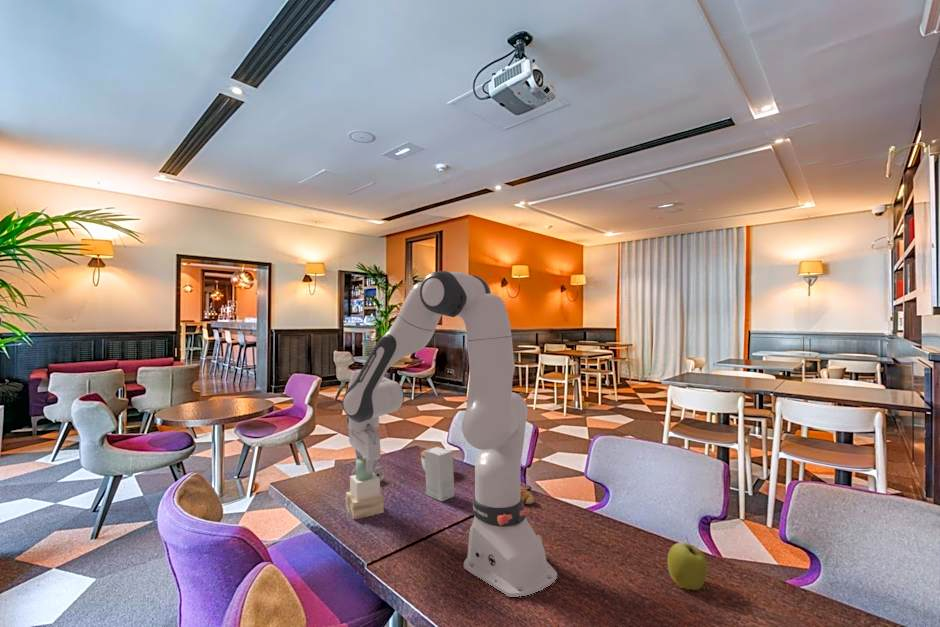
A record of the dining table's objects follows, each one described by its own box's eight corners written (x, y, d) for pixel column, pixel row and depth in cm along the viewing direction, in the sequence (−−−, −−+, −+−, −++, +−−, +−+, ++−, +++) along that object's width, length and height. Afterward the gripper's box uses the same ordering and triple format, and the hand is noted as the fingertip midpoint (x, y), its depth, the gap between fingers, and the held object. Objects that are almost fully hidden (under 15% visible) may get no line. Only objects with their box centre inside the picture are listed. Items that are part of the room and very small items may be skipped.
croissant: (538, 513, 132) (544, 487, 135) (525, 509, 124) (531, 481, 128) (482, 495, 144) (489, 472, 147) (467, 490, 137) (474, 465, 140)
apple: (654, 575, 92) (664, 529, 93) (679, 577, 95) (688, 532, 96) (686, 597, 85) (696, 547, 86) (712, 599, 88) (721, 550, 89)
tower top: (379, 495, 126) (379, 478, 126) (356, 500, 122) (356, 483, 122) (372, 487, 132) (372, 471, 132) (349, 492, 128) (349, 476, 128)
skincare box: (454, 497, 136) (454, 451, 136) (440, 502, 132) (440, 455, 132) (438, 489, 142) (438, 445, 142) (424, 494, 138) (424, 449, 138)
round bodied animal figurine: (372, 493, 145) (379, 472, 144) (347, 475, 150) (354, 454, 149) (385, 485, 152) (392, 465, 150) (361, 468, 157) (368, 448, 155)
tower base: (383, 513, 125) (383, 496, 125) (353, 520, 121) (353, 503, 121) (374, 502, 133) (374, 486, 133) (345, 508, 128) (345, 492, 128)
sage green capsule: (374, 478, 126) (375, 461, 126) (358, 481, 124) (358, 464, 124) (370, 473, 130) (370, 457, 130) (353, 476, 128) (354, 459, 128)
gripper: (385, 427, 120) (386, 475, 120) (364, 413, 137) (364, 456, 137) (364, 430, 117) (364, 480, 116) (345, 416, 134) (345, 459, 134)
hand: (364, 466), depth 127 cm, fingers open, 8 cm apart
